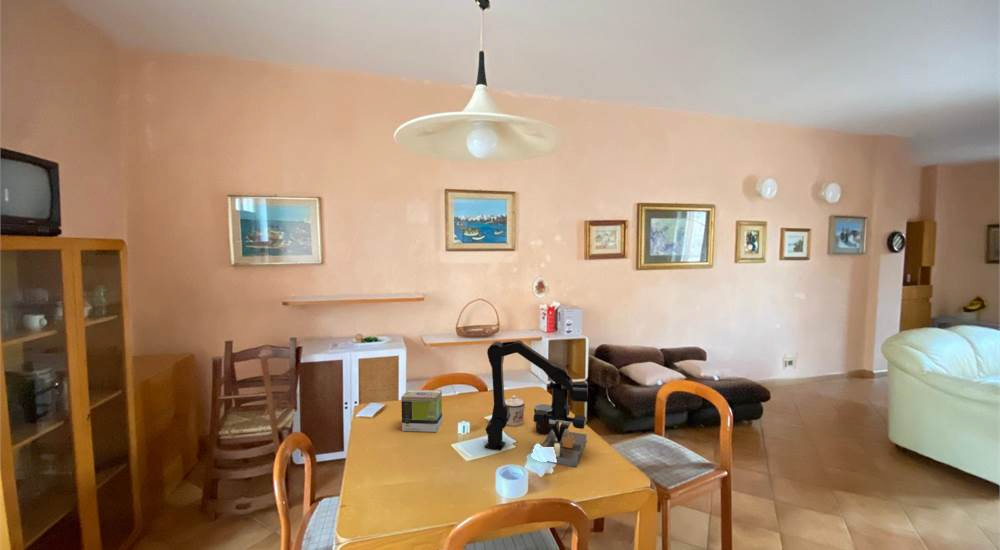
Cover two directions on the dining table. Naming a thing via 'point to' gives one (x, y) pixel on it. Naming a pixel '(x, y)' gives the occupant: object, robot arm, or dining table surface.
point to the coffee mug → (544, 426)
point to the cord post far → (566, 431)
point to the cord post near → (557, 449)
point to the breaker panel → (567, 454)
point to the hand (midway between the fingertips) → (559, 441)
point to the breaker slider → (568, 440)
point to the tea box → (421, 410)
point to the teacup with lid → (515, 411)
